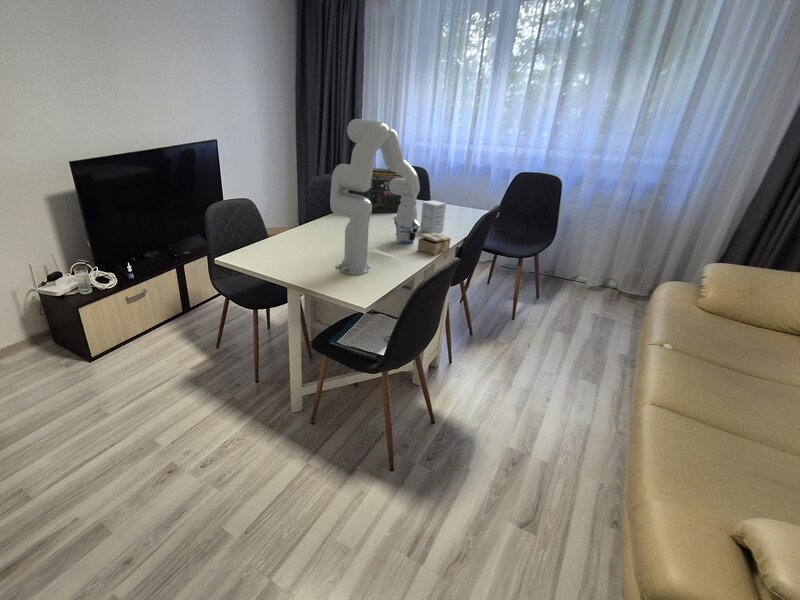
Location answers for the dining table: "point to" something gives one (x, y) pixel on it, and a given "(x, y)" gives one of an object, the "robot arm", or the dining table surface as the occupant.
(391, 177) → the router box
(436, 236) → the lid
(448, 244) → the wooden box
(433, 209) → the supplement box
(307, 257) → the dining table surface
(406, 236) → the medicine box
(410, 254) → the dining table surface
